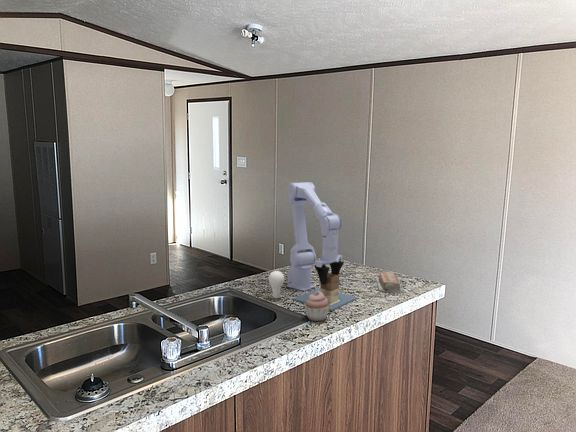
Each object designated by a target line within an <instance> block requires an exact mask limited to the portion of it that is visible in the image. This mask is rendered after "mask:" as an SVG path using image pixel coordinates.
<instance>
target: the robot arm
mask: <svg viewBox="0 0 576 432" xmlns="http://www.w3.org/2000/svg"><path fill="white" fill-rule="evenodd" d="M287 199H288V203H289V204H290V205H291V213H292V214H291V215H292V222H293V230H294V240H295V241H294V242H295V244H294V245H293V246H292V248H290V250H289V251H290V255H289V261H290V264H291V265H290V266H289V269H288V271H287V272H288V274H287V281H288V282H287V285H286V287H288V288H291V289H295V290H299V291H301V292H302V291H303V292H305V291H308V290H311V289H313V288H315V287H316V285H314V284H312V271H313V270H312V268H314V269H315V271H316V272H317V275H318V280H319V283H320V285H321V284H324V285H325V284H326V282H327V275H328V273H329V271H331V272H330V273H331V274H335V275H339V276H340V271H341V269H342V267H343V266H344V261H343V255H342V254H338V253H339V252H338V248H339V245H338V244H339V230H341V228H342V224H343V223H342V218H341V217H340V215H339V214H338V213H337V214H336V213H334V212H333V211H332V210H331V209H330V207H329V206H328V205H327V204H326V202H323V201H321V199H320V198H319V197H318V195H317V193H316V186H315V184H314V183H313V182H311V181H308V182H307V181H305V182H289V185H288V187H287ZM306 203H309V204H310V205H311V207H312V208H313V209H312V211H313V213H314V216H316V218H317V219H318V220H319V226H320V229H321V231H320V233H321V236H322V248H321V249H322V251H321V252H322V253H321V258H320V259H319V260H317V255H316V251H315V248H314V247H315V246H313V245H312V244H310V243H309V240H308V231H307V224H306V223H307V221H306V215H305V204H306ZM326 265H330V267H327V266H326Z"/></svg>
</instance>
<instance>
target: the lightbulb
mask: <svg viewBox="0 0 576 432" xmlns="http://www.w3.org/2000/svg"><path fill="white" fill-rule="evenodd" d="M268 282H269V284H270V287H271V290H272V291H271V292H272V298H274V299H275V300H276V299H278V298H280V293H281V288H282V286H283V284H284V282H285V275H284V274H283V273H282V271H279V270H274V271H272V272H270V274H269V275H268Z"/></svg>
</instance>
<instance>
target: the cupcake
mask: <svg viewBox="0 0 576 432" xmlns="http://www.w3.org/2000/svg"><path fill="white" fill-rule="evenodd" d="M303 305H304V309H305V310H306V315H307V318H308V319H309V321H315V322H322V321H325V320H326V318H327V315H328V314H329V308H330V307H331V306H330V304H329V303H328V299H327V298H326V297H325V296H324V294H323V293H321V292H319V291H316V292H315V293H314V294H311V295H310V296H309V297H308V299H307V301H306V303H303Z"/></svg>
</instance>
